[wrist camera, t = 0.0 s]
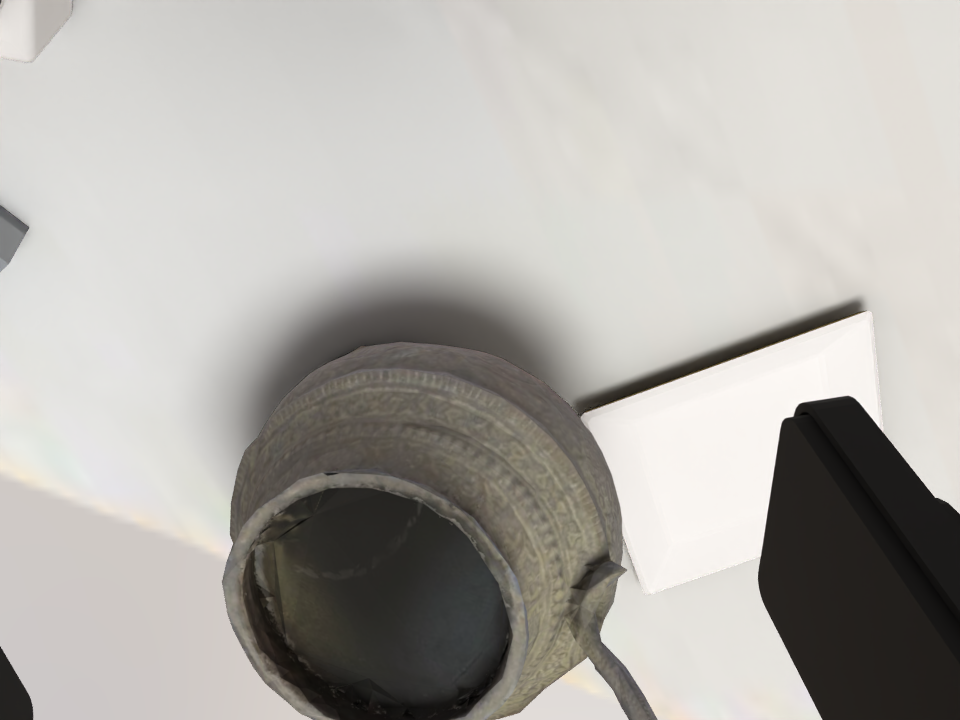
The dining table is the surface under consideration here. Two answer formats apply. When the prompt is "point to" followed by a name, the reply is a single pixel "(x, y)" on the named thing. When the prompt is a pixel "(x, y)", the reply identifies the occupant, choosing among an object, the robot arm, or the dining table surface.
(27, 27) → the medicine bottle
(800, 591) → the robot arm
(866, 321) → the plate
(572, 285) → the dining table surface
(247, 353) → the dining table surface
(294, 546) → the pot
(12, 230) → the tray
